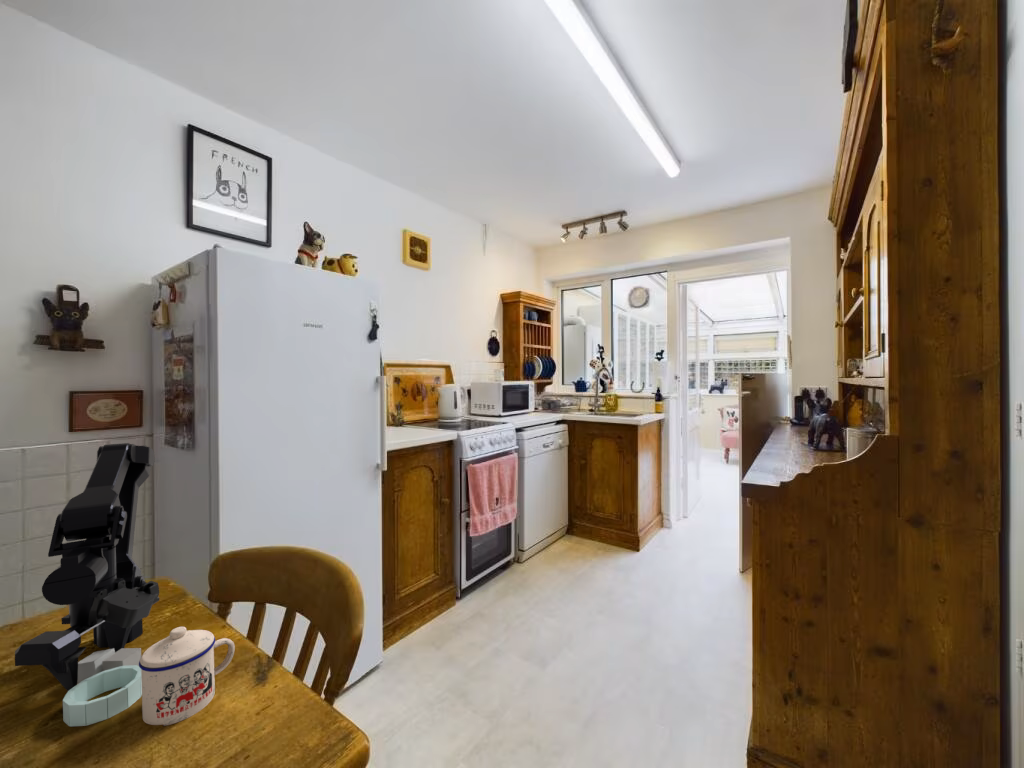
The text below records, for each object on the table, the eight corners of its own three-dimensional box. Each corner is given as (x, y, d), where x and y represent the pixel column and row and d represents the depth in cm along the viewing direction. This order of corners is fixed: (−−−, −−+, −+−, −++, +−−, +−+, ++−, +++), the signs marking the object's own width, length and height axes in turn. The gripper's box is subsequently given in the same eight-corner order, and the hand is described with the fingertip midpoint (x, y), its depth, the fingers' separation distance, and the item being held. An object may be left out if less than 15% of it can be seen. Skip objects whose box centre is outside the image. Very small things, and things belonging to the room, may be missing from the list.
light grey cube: (78, 685, 70) (74, 664, 70) (98, 671, 73) (95, 651, 73) (97, 681, 70) (94, 661, 70) (117, 668, 73) (114, 648, 73)
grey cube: (102, 681, 71) (102, 661, 71) (122, 668, 74) (121, 648, 74) (123, 681, 70) (122, 660, 70) (141, 667, 74) (141, 648, 74)
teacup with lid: (152, 741, 59) (149, 655, 59) (132, 713, 64) (129, 634, 64) (247, 689, 68) (245, 615, 68) (223, 668, 74) (221, 600, 74)
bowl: (46, 731, 61) (45, 706, 61) (103, 689, 69) (102, 666, 69) (108, 729, 61) (108, 703, 61) (157, 686, 70) (156, 664, 70)
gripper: (88, 605, 62) (91, 713, 62) (184, 554, 81) (186, 637, 81) (9, 608, 62) (12, 717, 62) (123, 557, 81) (126, 640, 81)
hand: (95, 673), depth 71 cm, fingers open, 8 cm apart
